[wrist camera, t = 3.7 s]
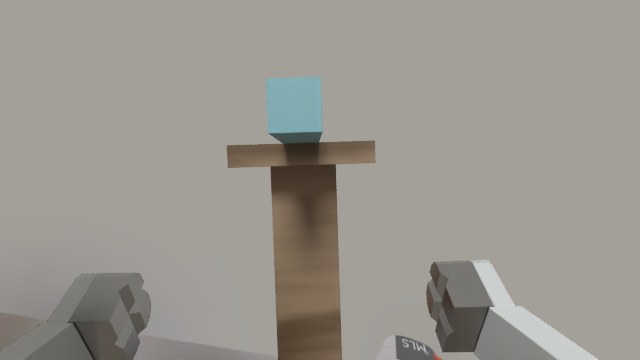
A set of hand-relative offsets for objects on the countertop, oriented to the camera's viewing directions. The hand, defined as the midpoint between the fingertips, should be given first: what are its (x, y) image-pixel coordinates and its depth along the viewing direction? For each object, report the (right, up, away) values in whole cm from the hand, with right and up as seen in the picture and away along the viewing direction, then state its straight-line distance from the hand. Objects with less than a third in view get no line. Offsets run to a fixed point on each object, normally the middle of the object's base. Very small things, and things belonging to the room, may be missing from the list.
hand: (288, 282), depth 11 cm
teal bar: (0, +6, +18) cm, 19 cm away
